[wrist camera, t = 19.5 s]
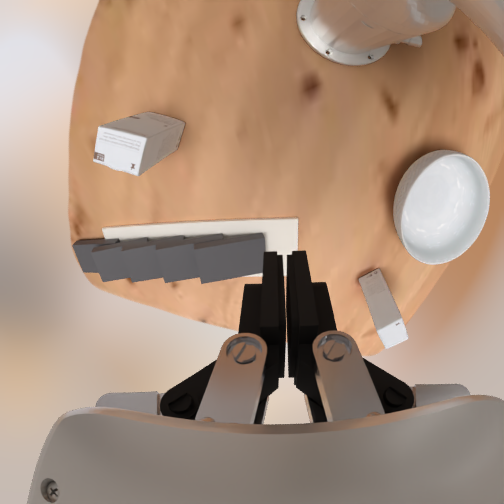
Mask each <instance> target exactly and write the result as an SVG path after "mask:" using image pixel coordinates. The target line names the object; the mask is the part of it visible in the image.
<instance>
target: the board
mask: <svg viewBox="0 0 504 504" xmlns="http://www.w3.org/2000/svg"><path fill="white" fill-rule="evenodd" d="M102 231H103V234H104V237H105V239H114V238H119V241H120V242H124V241H129V240H135V239H140V238H145V237H148V240H149V241H152V240H158V239H163V238H169V237H175V236H180V235H184V240H185V239H191V238H197V237H203V236H209V235H215V234H221V233H222V235H223V239H226V238H232V237H238V236H244V235H250V234H256V233H263V235H264V237H265V247H266V251H277V255H283V270H284V276H287V255H292V251H298V217H289V218H252V219H225V220H203V221H184V222H167V223H151V224H137V225H124V226H111V227H103V228H102ZM254 276H263V273H259V274H253V275H248V276H243V277H254Z"/></svg>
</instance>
